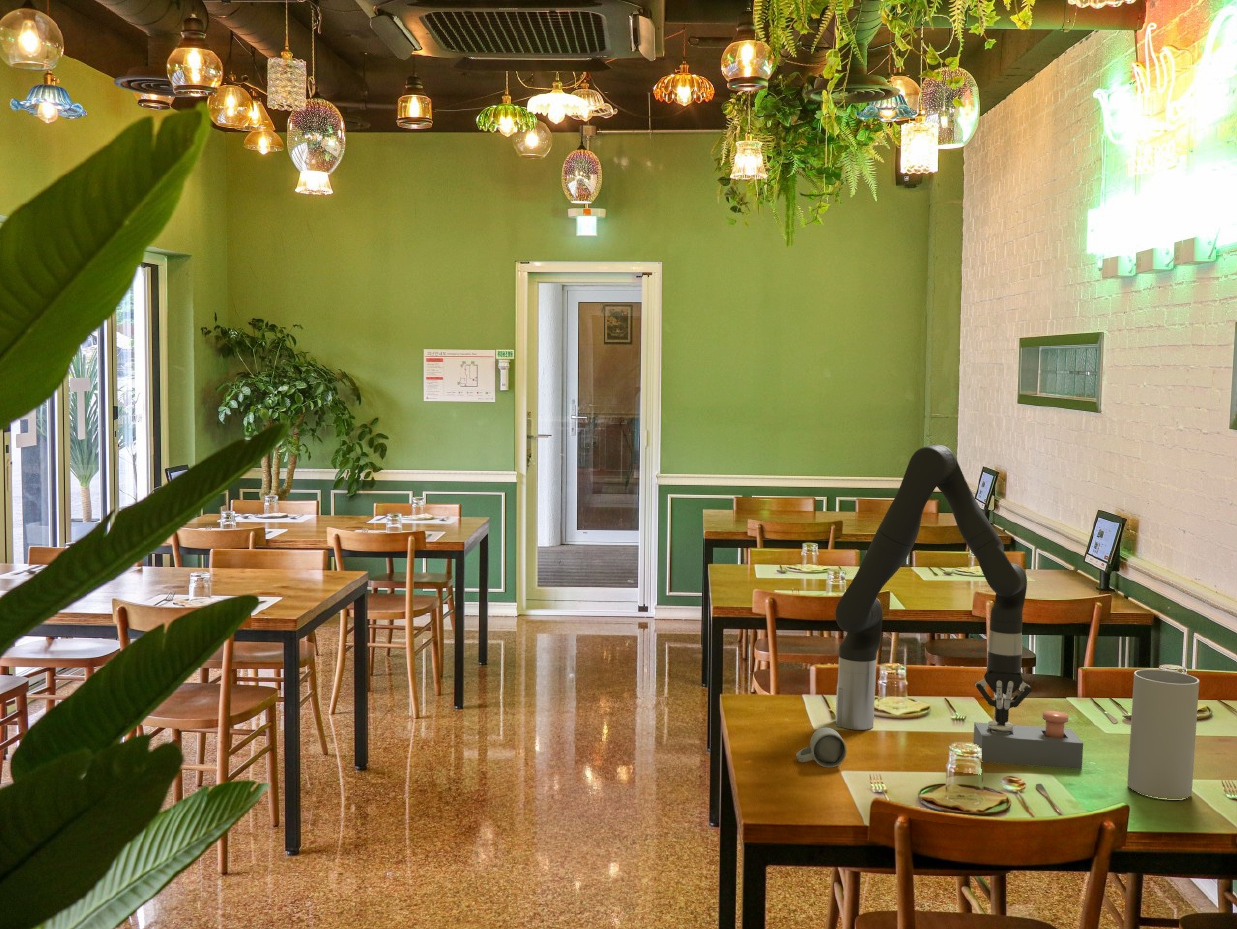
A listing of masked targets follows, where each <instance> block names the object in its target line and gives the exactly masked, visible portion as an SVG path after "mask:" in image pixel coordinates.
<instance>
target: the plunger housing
mask: <svg viewBox="0 0 1237 929" xmlns="http://www.w3.org/2000/svg"><path fill="white" fill-rule="evenodd" d="M1013 725H1014V728H1013V732H1010V734H998V733H991V730H990V729H989V728H988V722H976V721H975V722H974V724H973V726H974V727H973V743H974V744H977V745H979V747H980V748H982V761H983V762H982V763H991V764H992V763H993V764H1005V765H1017V766H1018V765H1020V766H1034V767H1047V768H1060V769H1070V770H1071V769H1072V768H1073V769H1074V770H1082V769H1083V754H1084V742H1083V741H1082V739H1080V737H1079V736H1078V735H1077V734H1076V733H1075V732H1074V730H1073V729H1072V728H1065V727H1064V738H1056V737H1045V729H1046V726H1036V725H1035V726H1033V725H1020V724H1019V725H1017V724H1013Z"/></svg>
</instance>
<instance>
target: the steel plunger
mask: <svg viewBox="0 0 1237 929" xmlns="http://www.w3.org/2000/svg"><path fill="white" fill-rule="evenodd" d="M987 723H988V728H989V729H990V730H991V733H998V734H1010V732H1013V728H1014V725H1015V724H1014V723H1012V722H1010V721H1008V722H1007V723H1005V725H998V723H997V722H996V721H995V719H994V720H993V719H992V720H989V721H988V722H987Z"/></svg>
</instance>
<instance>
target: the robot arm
mask: <svg viewBox="0 0 1237 929" xmlns="http://www.w3.org/2000/svg"><path fill="white" fill-rule="evenodd" d="M936 488H938V490H939V491H940V492H941V494H942V495H943V496H944V498H945V500H946V501H947V503H948V505H949V508H950V509H951V512H952V515H953V518H954V521H955V523H956V526H957V528H958V531H959V533H960V535H961V537H962V539H963V540H964V542H965V543H966V545H967V547H968V548H969V550H970V551H971V553H972V554H973V555H974V557H975V559H976V560H977V562H978V565H979V568H980V570H981V572H982V574H983V577H984V578H985V580H986V582H987V584H988V585H989V587H990V588H991V590H992V591H993V592H994V593H995V599H994V604H993V606H992V607H991V611H990V620H989V621H990V623H989V634H988V640H987V657H986V658H987V661H986V672H985V673H984V675H983V679H981V680H979V681H978V680H977V681H975V682H974V686H975V687H976V689H977V690H978V692H979V693H980V694H981V695H982V696H983V698H984V700H985V701H986V703H987V704H988V705H989V706H991V707H993V708H994V720H995V721H996V722H997V723H998V725H1005V723H1007V722H1009V714H1010V711H1009V710H1010V709H1012V708H1017V707H1018V706H1019V705H1020V704H1021V703H1022V702H1023V701H1024V700H1025V699H1026V698H1027V696H1029V695H1030V693H1031V692H1032V691H1033V689H1032V687H1031V686H1030V685H1029V684H1028V683H1026V682H1024V678H1023V676H1022V659H1023V658H1022V657H1023V635H1022V634H1023V633H1022V632H1023V610H1024V607H1025V606H1024V605H1025V600H1026V594H1027V590H1028V576H1027V574H1026V571H1025V570H1024V568H1023V567H1022V566H1021V565H1019V564H1017V563H1013V562H1012V563H1011V562H1010V560H1009V558H1008V556H1007V555H1006V553H1005V551H1004V550H1005V545H1004V543H1003V541H1002V539H1001V537H1000V536H999V534H998V533H997V531H996V530H995V529H994V526H993V525H992V523H991V522H990V521H989V519H988V517H987V516H986V515H985V513H984V511H983V510H982V509H981V507H980V505H979V503H978V501H977V500H976V498H975V496H974V494H973V492H972V490H971V488H970V486H969V484H968V482H967V480H966V478H965V476H964V474H963V471H962V469H961V466H960V464H959V462H958V460H957V458H956V455H955V454H954V452H953V451H952V450H951V449H950V448H949V447H947V446H945V445H942V444H932V445H926V446H922V447H920V448H919V449H917V450H915V452H914V453H913V454H912V455H911V457H910V459H909V462H908V464H907V467H906V470H905V472H904V475H903V478H902V480H901V483H900V486H899V488H898V490H897V493H896V495H895V497H894V498H893V500H892V501H891V503H890V505H889V507H888V509H887V512H886V513H885V514H884V517H883V519H882V521H881V523H880V524H879V526H878V528H877V530H876V532H875V534H874V536H873V537H872V540H871V543H870V545H869V546H868V549H867V551H866V553H865V555H864V556H863V559H862V561H861V563H860V566H859V568H858V570H857V571H856V574H855V575H854V577H853V579H852V581H851V582H850V584H848V587H847V588H846V589H845V592H844V593H843V595H842V596H841V598H840V600H839V601H838V603H837V604H836V607H835V614H834V615H835V621H836V624H837V626H838V627H839V628H840V629H841V630H842V631H844V632H846V636H845V637H844V640H843V641H842V642H841V644H839V650H838V651H839V652H838V670H837V671H838V672H837V673H838V674H837V684H836V698H835V700H836V701H835V702H836V703H835V725H836V727H838V728H844V729H848V730H857V731H858V730H859V731H862V730H863V731H864V730H870V729H873V728H874V721H875V700H876V699H875V696H876V681H877V680H876V677H877V654H878V651H879V649H880V646H881V640H882V629H883V608H882V604H881V602H880V600H879V599H878V596H879V594H880V592H881V590H882V589H883V587H884V586H885V585H886V584H887V583H888V581H889V580H890V579H891V578H893V576H894V575H895V574H896V573H897V572H898V571H899V569H900V568H901V567H902V565H904V563H905V562H906V560H907V558H908V557H909V556H910V552H911V551H912V548H914V545H915V542H916V540H917V538H918V536H919V531H920V527H921V523H922V518H923V513H924V510H925V506H926V504H927V502H929V499H930V497H931V496H932V495H933V493H934V492H935V490H936ZM987 685H988V686H989V688H990V690H991V691H992V692H993V696H994V699H993V698H992V697H991V696H990V695H989V693H988V692H987V691H986V690H987V688H988V687H987ZM1017 690H1019V691H1018V692H1017V693H1016V694H1015V696H1013V697H1012V694H1014V693H1015V692H1016V691H1017Z"/></svg>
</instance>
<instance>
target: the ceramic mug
mask: <svg viewBox="0 0 1237 929" xmlns="http://www.w3.org/2000/svg"><path fill="white" fill-rule="evenodd" d="M847 748H848V747H847V745H846V742H845V741H844V739H843V738H842V736H841V735H840V733H839V732H838V731H836V730H835V729H833V728H830V727H821V728H818V729H816V730H815V731H814V733H812V735H811V737H810V741H809V746H805V747H804V748H802V749H800V750H799V751H797V752H796V753H795V754H796V755H795V756H796V759H797V761H798V762H799V763H807V762H810V761H813V760H814V761H815V762H816V763H817V764H818V765H819V766H820V767H823V768H826V769H827V768H828V769H831V768H836V767H838V766H840V765H841V764H842V763H843V762H844V761H845V759H846V756H847V753H848V752H847V751H848V749H847Z"/></svg>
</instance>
